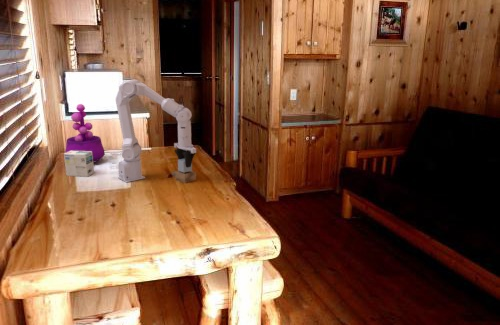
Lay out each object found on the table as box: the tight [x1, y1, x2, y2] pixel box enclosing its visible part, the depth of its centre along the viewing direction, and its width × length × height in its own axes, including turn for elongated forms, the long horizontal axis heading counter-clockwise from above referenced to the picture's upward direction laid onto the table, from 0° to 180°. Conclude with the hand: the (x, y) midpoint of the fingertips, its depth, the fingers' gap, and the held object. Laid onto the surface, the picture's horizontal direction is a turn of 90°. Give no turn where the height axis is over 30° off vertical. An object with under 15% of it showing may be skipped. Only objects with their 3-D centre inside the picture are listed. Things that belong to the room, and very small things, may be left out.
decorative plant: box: [64, 103, 106, 163], centre depth 203 cm, size 19×18×30 cm
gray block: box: [177, 158, 193, 173], centre depth 180 cm, size 4×4×5 cm
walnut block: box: [174, 170, 197, 184], centre depth 182 cm, size 6×6×4 cm
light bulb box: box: [63, 151, 95, 178], centre depth 186 cm, size 11×7×11 cm, turn 84°
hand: (185, 165), depth 181 cm, fingers closed on gray block, 4 cm apart
